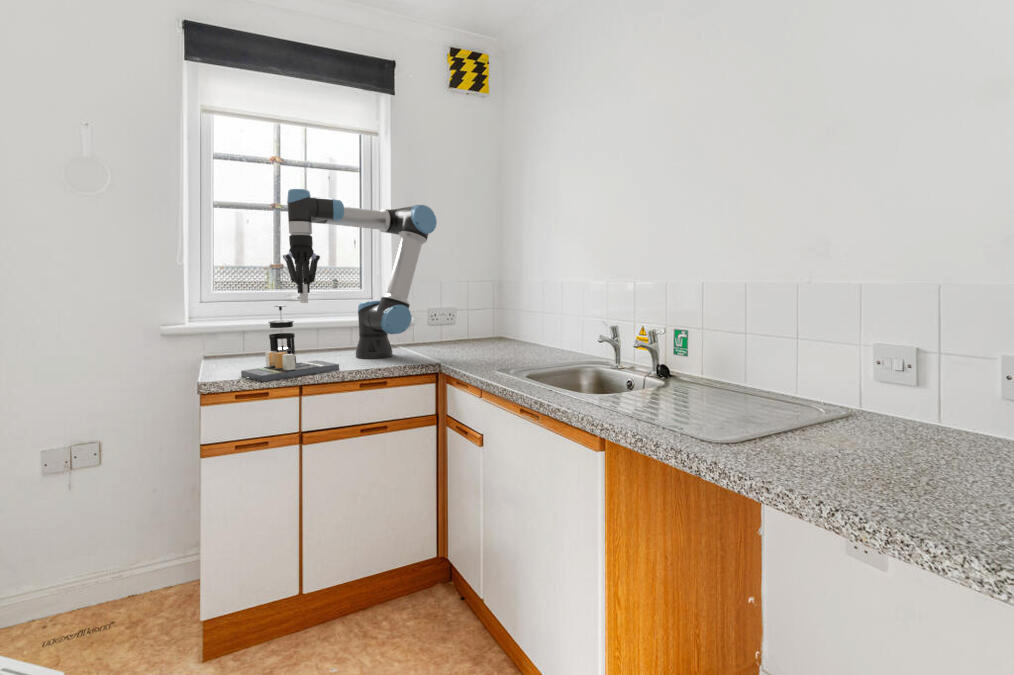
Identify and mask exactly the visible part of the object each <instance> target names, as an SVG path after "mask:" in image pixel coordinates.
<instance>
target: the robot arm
mask: <svg viewBox="0 0 1014 675" xmlns="http://www.w3.org/2000/svg"><path fill="white" fill-rule="evenodd" d="M286 195H287V196H286V204H287V216H288V217H287V218H288V233H289V234H290V235H289V250H288V252H287V253H286V254H283V255H282V259H284V261H285V262H286V266H287V267H286V268H287V271H288V273H289V277H290V281H291V282H292V283H295V284H296V287H297V294H299V300H300V301H299V303H302V304H305V303H306V304H308V303H309V293H310V291H311V290H310V289H311V288H310V285H311V284H312V283H315V281H316V273H317V268H318V263H319V260H320V258H321V256H320V255H318V254H316V253H314V249H313V243H314V242H313V236H312V234H313V228H312V227H313V225H312V224H320V225H321V224H323V225H324V224H325V225H333V226H334V225H335V226H342V227H344V226H345V227H354V228H363V229H372V230H379V231H380V232H381V233H387V234H393V235H399V237H400V243H399V246H398V250H397V254H396V257H395V261H394V265H393V269H392V272H391V276H390V279H389V283H388V287H387V290H386V293H385V294H384V295H382V296H381V299H380V300H371V301H369V300H368V301H363V302H360V303H359V304H358V307H357V308H358V309H357V315H358V316H357V317H358V318H357V319H358V336H359V338H358V343H357V346H356V349H355V358H357V359H358V358H359V359H381V358H382V359H383V358H389V357H392V356H393V355H394V354H393V349H392V345H391V343H390V341H389V338H388V337H389V336H388V334H389V335H397V334H398V335H399V334H402V333H404V332H406V331H407V330H408V328H409V327H410V325H411V323H412V314H411V311H410V310H411V309H410V306H411V304H410V303H409V300H408V299H409V294H410V291H411V286H412V283H413V279H414V275H415V272H416V267H417V265H418V264H417V263H418V261H419V256H420V253H421V249H422V246H423V245H424V244H426V243H427V241H428V238H429V234H432V233H433V232H434V231H435V229H436V228H437V225H438V224H437V223H438V222H437V217H436V215H435V212H434V211H433V209H432V208H431V207H430V206H428V205H425V204H414V205H411V206H405V207H400V208H399V207H398V208H395V209H392V208H391V209H387V208H382V209H381V210H377V209H376V210H375V209H374V210H373V209H367V208H358V207H352V206H351V207H350V206H345V205H344V203H343V202H342V201H341V200H339V199H336V198H328V197H327V198H326V197H315V196H312V195H311V192H310V190H308V189H306V188H305V189H304V188H291V189H288V191H287V194H286Z"/></svg>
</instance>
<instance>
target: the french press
mask: <svg viewBox="0 0 1014 675" xmlns="http://www.w3.org/2000/svg"><path fill="white" fill-rule="evenodd" d="M274 307H275V308H277V307H278V311H279V317H280V320H279V319H276V320H273V321H268V322H267V323H268V324H269V328H270V329H280V331H281V332H279V333H271V334H269V335H268V339H269V345H270V346H269V347H270V351H277V353H280V352H285V353H287V354H295V363H297V355H296V348H295V337H296V335H295V333H293V332H283V329H286V328H293V327H294V322H295V321H294V320H290V319H289V320H288V319H282V318H283V317H282V311H283V307H284V308H285V307H286V305H285V304H280V305H279V304H278V305H274ZM285 339H286V346H284V340H285ZM278 340H281V347H279V341H278Z"/></svg>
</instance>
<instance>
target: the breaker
mask: <svg viewBox="0 0 1014 675" xmlns="http://www.w3.org/2000/svg"><path fill="white" fill-rule="evenodd" d="M274 354H275V368H283V358H282V355H285V354H287V352H286V351H285V352H278V353H274Z"/></svg>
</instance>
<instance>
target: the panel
mask: <svg viewBox="0 0 1014 675" xmlns="http://www.w3.org/2000/svg"><path fill="white" fill-rule="evenodd" d="M264 353H265V354H264V356H265V366H264V367H258V368H251V369H244V370H241V373H240V375H241V376H243V378H245V377H249V378H251V379H250V380H254V381H258V382H263V383H264V382H268V381H270V382H271V381H276V380H282V379H288V378H295V377H300V376H308V375H313V373H315V374H318V373H317V372H321V373H325V372H324V371H327V372H332V371H331V370H334V371H339V370H340V364H339V363H334V362H329V361H323V360H310V361H302V362H296V363H295V356H296V353H295V354H285V355H282V358H283V368H275V354H274V353H277V351H271V350H270V351H265V352H264ZM249 378H248V379H249Z"/></svg>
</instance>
